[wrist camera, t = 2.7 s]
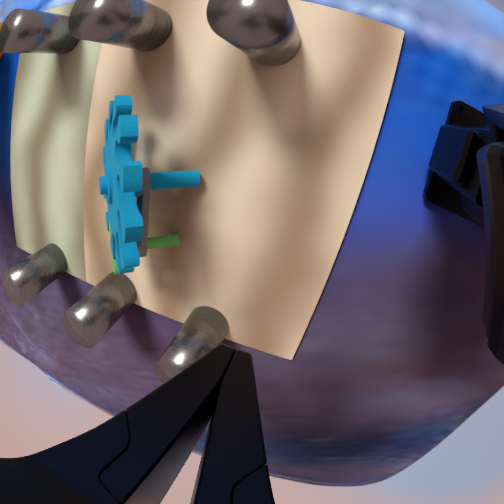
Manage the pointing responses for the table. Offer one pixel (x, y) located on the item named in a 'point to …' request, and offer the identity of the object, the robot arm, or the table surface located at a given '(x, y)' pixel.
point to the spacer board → (209, 162)
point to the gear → (132, 189)
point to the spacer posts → (144, 39)
